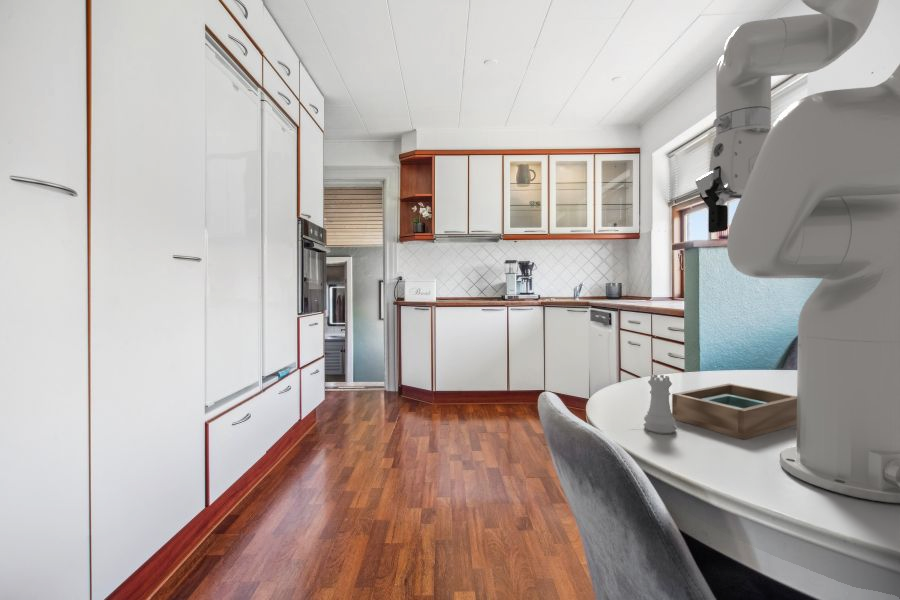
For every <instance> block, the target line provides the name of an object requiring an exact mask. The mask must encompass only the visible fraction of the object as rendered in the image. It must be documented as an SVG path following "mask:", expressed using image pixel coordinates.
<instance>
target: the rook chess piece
mask: <svg viewBox="0 0 900 600" xmlns="http://www.w3.org/2000/svg"><path fill="white" fill-rule="evenodd" d="M647 383H648V384H649V386H650V391H649V394H650V401H649V407H648V411H646V412H647V413H646V414H645V416H644V417H643V418H644V419H643V420H644V421H645V423H644V424H643V426H644V428H645V429H646V431H648V432H650V433H654V434H659V435H661V434H662V435H670V434H673V433H675V431H676V430H677V427H676V426H675V424H676V423H677V420H675V419H674V417H673V414H672V409H671V406H670V395H671V392H670V387H671V386H672V385H673V383H672V381H671V380H670V376H668V375H665V376H664V374H660V375H659V377H658V374H653V375H650V378H649V380H647Z"/></svg>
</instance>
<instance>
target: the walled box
mask: <svg viewBox="0 0 900 600" xmlns="http://www.w3.org/2000/svg"><path fill="white" fill-rule="evenodd" d="M671 397H672V400H671V406H672V407H671V408H672V409H671V413H672V414H673V417H674V419H675V420H676V421H679V422H682V423H685V424H689V425H692V426H695V427H699V428H703V429H706V430H709V431H713V432H715V433H718V434H719V433H721V434H723V435H727V436H730V437H734V438H736V439H740V440H744V441H745V440H748V439H752V438H754V437H759V436H762V435H765V434H768V433H769V434H770V433H773V432H775V431H779V430H783V429H786V428H790V427H792V426H797V395H792V394H787V393H783V392H782V393H781V392H777V391H771V390H766V389H761V388H757V387H756V388H755V387H750V386H744V385H740V384H734V383H730V382H729V383H723V384H719V385H714V386H712V385H711V386H707V387H704V388H703V387H702V388H696V389H692V390H686V391H681V392H676V393H672V395H671Z"/></svg>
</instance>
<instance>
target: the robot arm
mask: <svg viewBox="0 0 900 600" xmlns="http://www.w3.org/2000/svg"><path fill="white" fill-rule="evenodd" d="M801 1H802V3H803V4H804V5H806V7H808V8H809V9H811V10H813V11H815V12H817V13H815V14H803V15H793V16H784V17H777V18H771V19H770V18H769V19H762V20H761V19H760V20H751V21H747V22H745V23H742V24H741V25H739V26H738V27H736V28H735V29H734V30H733V32H732V33H731V35H730V36H728V39H727V40H726V42H725V45H724V49H723V55H721V57H720V58H719V59H718V61H717V64H716V68H715V69H716V71H715V75H716V76H715V77H716V78H715V79H716V82H715V89H716V91H715V93H716V94H715V95H716V96H715V97H716V98H715V100H716V101H715V103H716V105H715V106H716V107H715V109H716V110H715V113H716V114H715V116H716V117H715V119H714V120H713V124H712V125H713V127H715V132H716V133H715V137H714V138H713V143H712V146H711V152H710V160H709V169H708V170H709V172H707V173H706V174H704V175H702V176H700V177H698V178H697V179H696V180H695V185H696V187H697V190H698V192H699V197H700V199H702V201H703V202H704V206H705V208H706V209H708V233H710V234H711V233H712V234H714V233H719V232H725V231H727V230H728V236H727V242H726V243H727V244H726V248H727V249H726V250H727V255H728V258H729V262H730V263H731V265H732V266H733V267H734V268H735V269H736V270H737V272H740V273H741V274H743V275H745V276H748V277H752V278H759V279H821V281H820V282H819V284H817V286H816V288H815V289H814V290H813V291H812V293H811V294H810V295H809V297H808V298H807V299H806V301H805V302H804V304H803V306H802V307H801V310H800V313H799V317H798V321H797V323H798V324H797V377H796V378H797V379H796V380H797V381H796V384H797V387H796V388H797V389H796V391H797V392H796V396H797V425H796V446H794V447H793V446H792V447H789V448H788V447H787V448H786V449H783V450H782V451H781V452H780V453H779V464H780V467H782V469H784V470H785V471H786V472H787V473H789V474H790V475H792V476H793V477H795V478H797V479H800V481H801V480H802V481H804V482H806V483H807V484H811V485H812V486H813V485H814V486H816V487H819V488H822V489H824V490H828V491H831V492H835V493H837V494H840V495H845V496H849V497H853V498H859V499H864V500H869V501H874V502H876V501H877V502H883V503H893V504H900V63H899V64H898V66H897V67H896V69H894V72H892V74H891V75H890V76H889V77H888V78H887V79H886V80H884V81H883V82H881V83H879V84H877V85H874V86H868V87H867V86H866V87H856V88H844V89H833V90H825V91H821V92H816V93H813V94H810V95H807V96H805V97H803V98H801V99H799V100H797V101H795V102H794V103H792V104H791V105H790V106H789V107H787V109H785V110H784V111H783V112H782V113H781V114H780V115H779V116H778V118H777V119H776V120H775V122H774V123H773V125H772V77H777V76H788V75H802V74H810V73H813V72H817V71H819V70H822V69H824V68H826V67H828V66H830V65H831V64H832V63H834V62H835V61H837V60H838V59H839V58H840V57H841V56H842V55H844V54H845V53H846V52H847V51H849V50H850V49H851V48H852V47H854V46H855V45H856V44H857V43H858V42H859V41H860V40H861V39H862V37H863V36H864V35H865V33H866V32H867V30H868V29H869V27H870V25H871V23H872V21H873V19H874V17H875V14H876V11H877V9H878V5H879V2H880V0H801ZM728 199H739V201H738V204H737V206H736V209H735V212H734V213H733V216H732V219H731V222H730V225H729V226H728V224H729V222H728V221H729V220H728V219H729V217H728V215H729V213H728V212H729V208H728V204H727V205H726V204H725V203H726V202H727V200H728ZM728 227H729V229H728Z"/></svg>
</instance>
